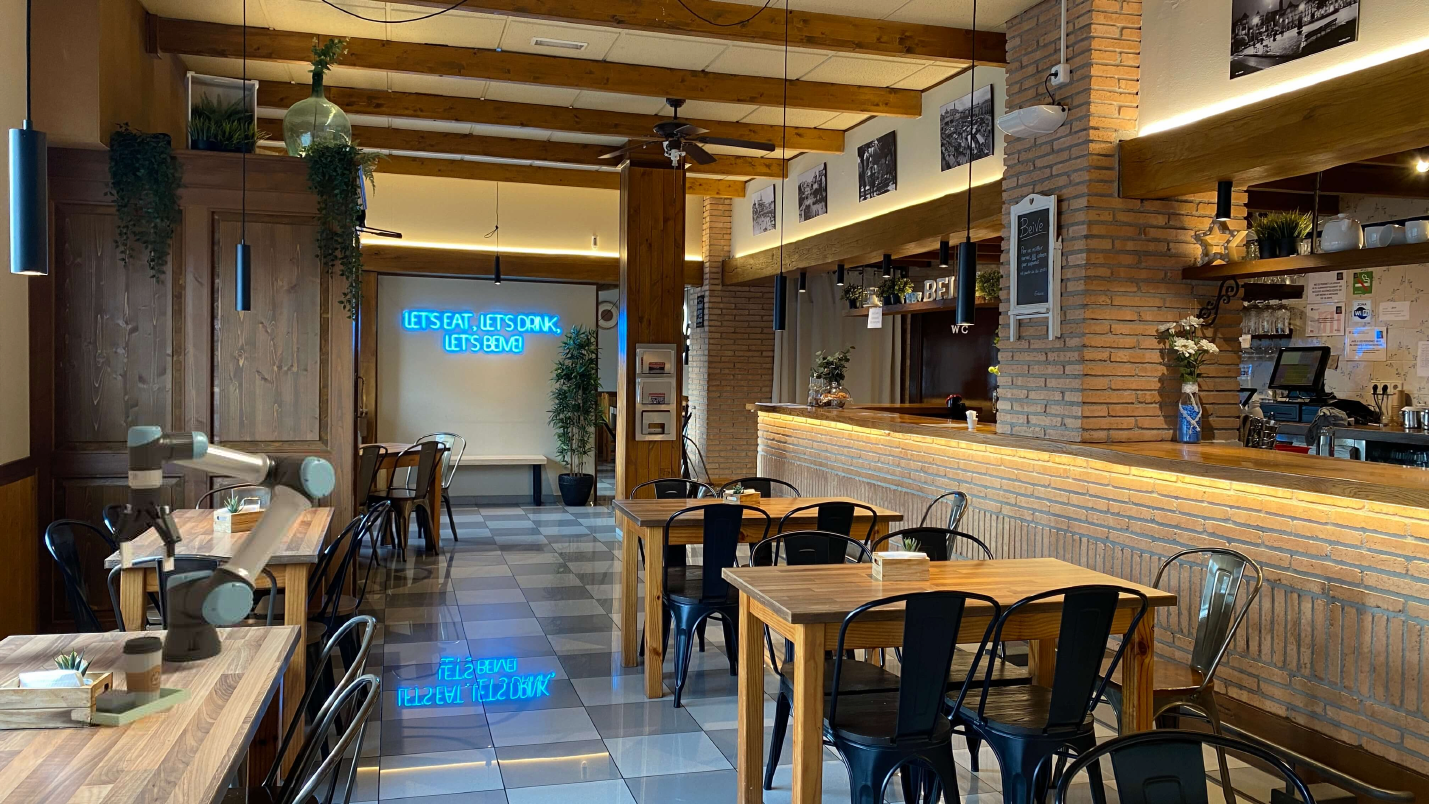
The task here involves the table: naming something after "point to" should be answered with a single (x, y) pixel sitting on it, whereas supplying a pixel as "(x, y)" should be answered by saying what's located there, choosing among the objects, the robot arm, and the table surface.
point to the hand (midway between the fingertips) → (147, 568)
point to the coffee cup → (143, 668)
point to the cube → (115, 701)
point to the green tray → (144, 707)
